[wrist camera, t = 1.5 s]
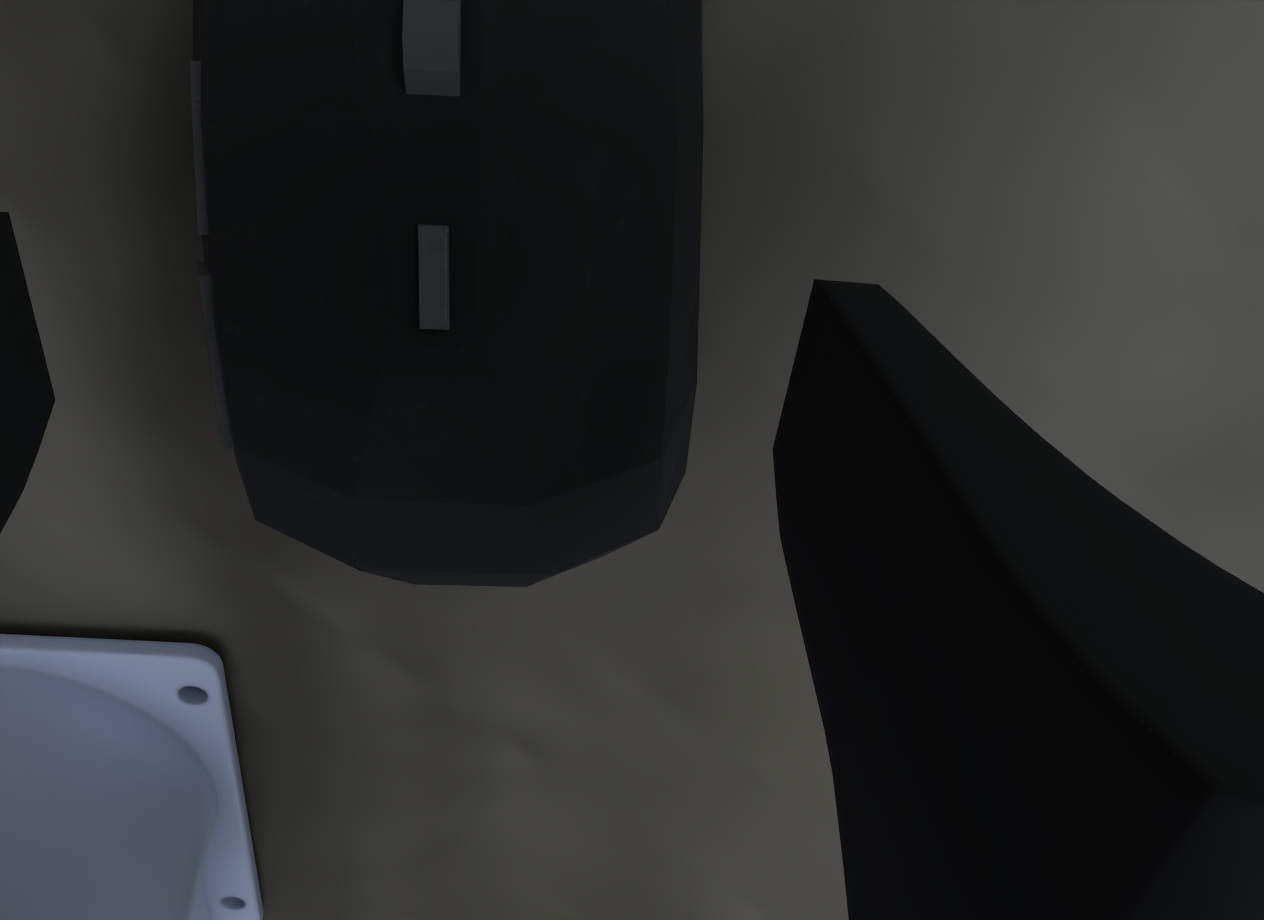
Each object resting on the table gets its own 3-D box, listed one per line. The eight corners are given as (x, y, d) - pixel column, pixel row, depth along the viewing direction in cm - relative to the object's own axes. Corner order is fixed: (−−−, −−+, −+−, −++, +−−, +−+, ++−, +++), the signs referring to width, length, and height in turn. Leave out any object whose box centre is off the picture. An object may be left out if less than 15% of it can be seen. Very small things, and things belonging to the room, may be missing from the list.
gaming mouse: (797, -663, 10) (886, -722, 7) (662, 546, 20) (678, 741, 17) (64, -729, 10) (-166, -824, 7) (283, 538, 19) (227, 737, 16)
